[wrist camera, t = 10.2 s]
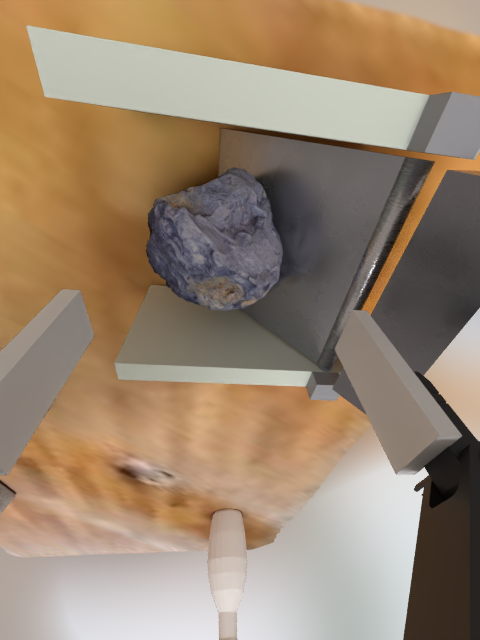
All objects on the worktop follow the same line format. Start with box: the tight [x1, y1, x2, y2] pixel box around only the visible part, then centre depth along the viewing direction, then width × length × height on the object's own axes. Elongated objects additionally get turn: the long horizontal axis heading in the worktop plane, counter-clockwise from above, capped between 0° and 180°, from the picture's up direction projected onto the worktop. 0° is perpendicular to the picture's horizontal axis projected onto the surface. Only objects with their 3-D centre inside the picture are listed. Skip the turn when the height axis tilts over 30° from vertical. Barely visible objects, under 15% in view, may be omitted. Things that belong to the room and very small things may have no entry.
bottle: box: [208, 509, 247, 640], centre depth 70 cm, size 11×11×25 cm
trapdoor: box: [218, 128, 480, 415], centre depth 21 cm, size 21×15×7 cm
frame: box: [26, 25, 480, 400], centre depth 21 cm, size 20×20×14 cm
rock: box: [146, 167, 283, 311], centre depth 21 cm, size 11×10×10 cm
